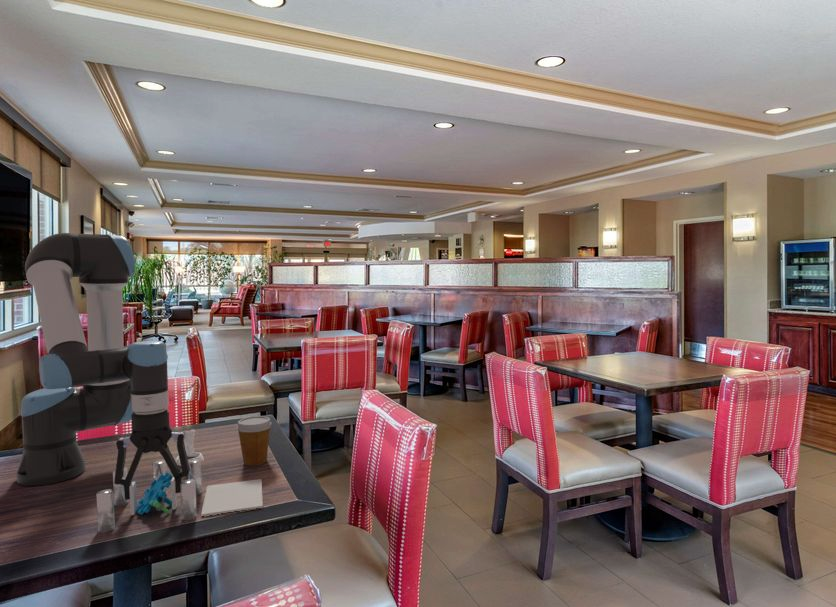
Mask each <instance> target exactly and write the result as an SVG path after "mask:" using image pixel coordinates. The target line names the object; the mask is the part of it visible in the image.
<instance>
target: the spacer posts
mask: <svg viewBox="0 0 836 607" xmlns="http://www.w3.org/2000/svg"><path fill="white" fill-rule="evenodd" d="M188 463H189V467H190V471H189V474H188V476H187V479H185V480H182V482H181V483H180V487H181V492H180V503H181V504H180V510H181V511H180V512H181V520H182V519H183V520H190V521H192V520H191V519H193V520H195V519H196V518H197V517H196V516H197V514H198V513H197V495H198V496H200V495H202V494H203V484H202V483H203V482H202V481H203V479H202V477H203V475H202V462H201V460H199V459H195V460H190V461H188ZM151 465H152V482H153V481H154V480H156V481H157V480H158V478H159V476H160V475H162V474H163V475H164V474H165V473H166V472H167V471H168V470H167V468H168V466H167V464H166V462H165V460H164V459H163V460H157V461H154V462H152V464H151ZM128 471H129V470H128V468H127V467H125V466H124V474H123V477H126V476H127V474H128ZM115 472H116V468H115V469H113V470H112V487H113V489H111V488H107V489H103V490H99V491H98V492H96V511H97V513H96V514H97V530H98V531H97V533H99V534H105V533H109V532H112V531H114V529H115V528H116V524H115V523H116V521H115V507H121V506H125V505H127V504H129V503H130V499H129V500H126V499H125V493H124V486H123V485H121V484H118V485H116V484H115V483H114V479H115ZM167 473H168V472H167ZM163 491H165V492H166V494H165V495H164V496H165V497H166V496H168V488H166V487H165V488H164V490H163ZM201 493H202V494H201ZM199 494H200V495H199ZM128 502H129V503H128ZM195 517H196V518H195ZM194 518H195V519H194ZM183 520H182V521H183Z"/></svg>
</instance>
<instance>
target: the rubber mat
mask: <svg viewBox="0 0 836 607" xmlns="http://www.w3.org/2000/svg"><path fill="white" fill-rule="evenodd" d="M262 481H263V480H262V478H259V479H252V480H242V481H235V482H228V483H226V482H225V483H220V484H218V483H217V484H211V485H207V486H206V490H205V495H204V499H203V504H202V510H201V515H200V516H204V517H211V516H210V515H212V516H217V514H219V515H222V514H221V513H226V512H233V513H235V512H234V511H240V512H242V511H241V510H247V511H249V510H248V509H254V510H256V509H255V508H261V509H263V508H264V507H263V506H264V503H263V486H262V485H263V482H262ZM226 514H227V513H226Z"/></svg>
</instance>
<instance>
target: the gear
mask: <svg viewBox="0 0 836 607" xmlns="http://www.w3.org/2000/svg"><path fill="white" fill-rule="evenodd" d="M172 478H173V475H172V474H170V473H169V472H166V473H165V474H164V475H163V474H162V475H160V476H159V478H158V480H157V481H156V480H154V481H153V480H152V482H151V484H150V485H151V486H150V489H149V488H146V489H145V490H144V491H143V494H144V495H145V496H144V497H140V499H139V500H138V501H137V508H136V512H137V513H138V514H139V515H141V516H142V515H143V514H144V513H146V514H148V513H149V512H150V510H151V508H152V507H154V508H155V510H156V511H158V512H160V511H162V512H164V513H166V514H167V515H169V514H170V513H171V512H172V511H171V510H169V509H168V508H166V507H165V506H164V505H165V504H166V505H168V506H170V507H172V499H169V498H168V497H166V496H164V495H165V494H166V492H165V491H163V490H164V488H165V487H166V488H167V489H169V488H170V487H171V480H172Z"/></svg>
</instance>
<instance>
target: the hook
mask: <svg viewBox="0 0 836 607" xmlns="http://www.w3.org/2000/svg"><path fill="white" fill-rule="evenodd" d="M195 434H196V431H195V429H190V430H188V431H186V432H185V437H184V445H185V449H186V454H187V457H188V461H190V460H195V459H199V460H201V463H202V462H203V461H204V459H205V458H204V456H203V454H202V453H201V452H199V451H198V452H197V451H195V449H194V445H193V444H194V439H195ZM174 460H175V461H176V463H177V465H179V466H178V467H181V463H180V458H179V455H178V456H177V457H176V458H175V459H174Z"/></svg>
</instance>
